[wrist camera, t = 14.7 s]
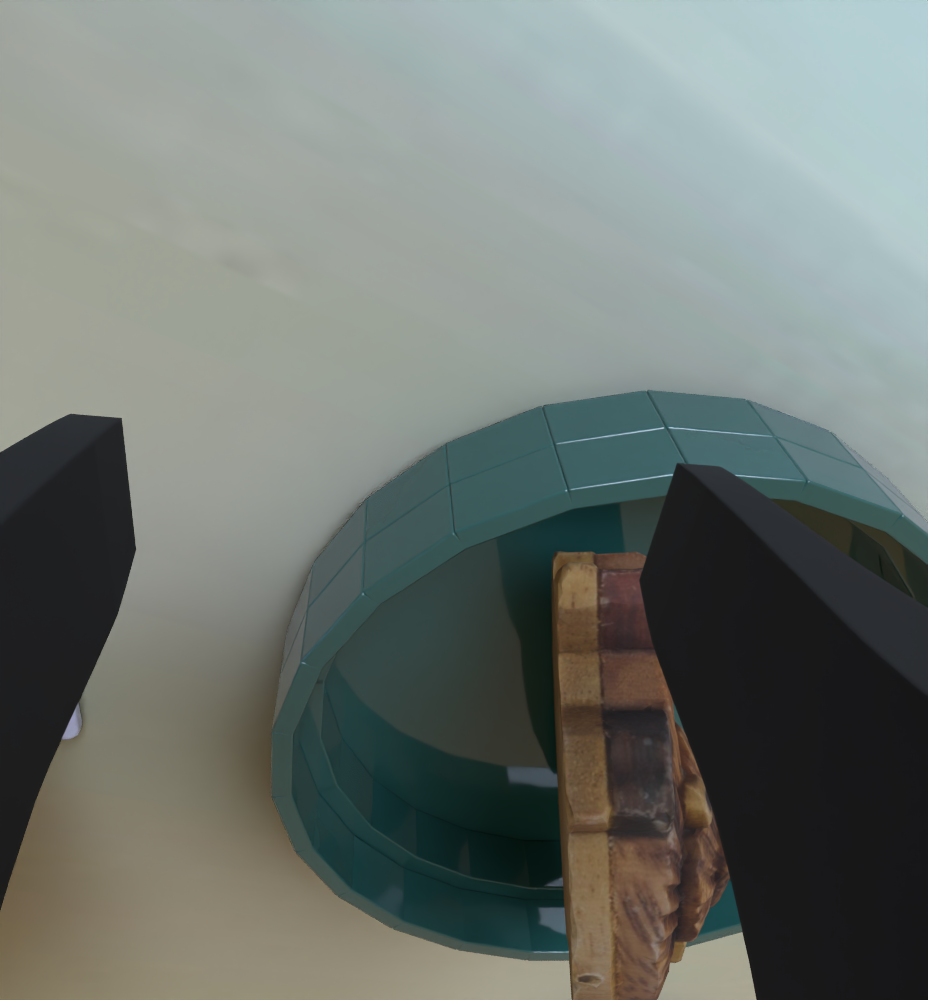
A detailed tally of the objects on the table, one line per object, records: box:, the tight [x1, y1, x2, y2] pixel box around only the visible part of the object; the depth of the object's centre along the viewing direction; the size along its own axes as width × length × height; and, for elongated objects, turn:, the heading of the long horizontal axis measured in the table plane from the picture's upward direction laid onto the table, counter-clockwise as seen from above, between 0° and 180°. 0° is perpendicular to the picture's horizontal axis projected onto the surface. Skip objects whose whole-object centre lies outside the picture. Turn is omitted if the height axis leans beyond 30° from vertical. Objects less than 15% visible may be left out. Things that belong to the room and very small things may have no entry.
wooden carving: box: [551, 551, 730, 1000], centre depth 23 cm, size 16×5×10 cm, turn 10°
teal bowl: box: [271, 390, 928, 961], centre depth 26 cm, size 21×21×4 cm
